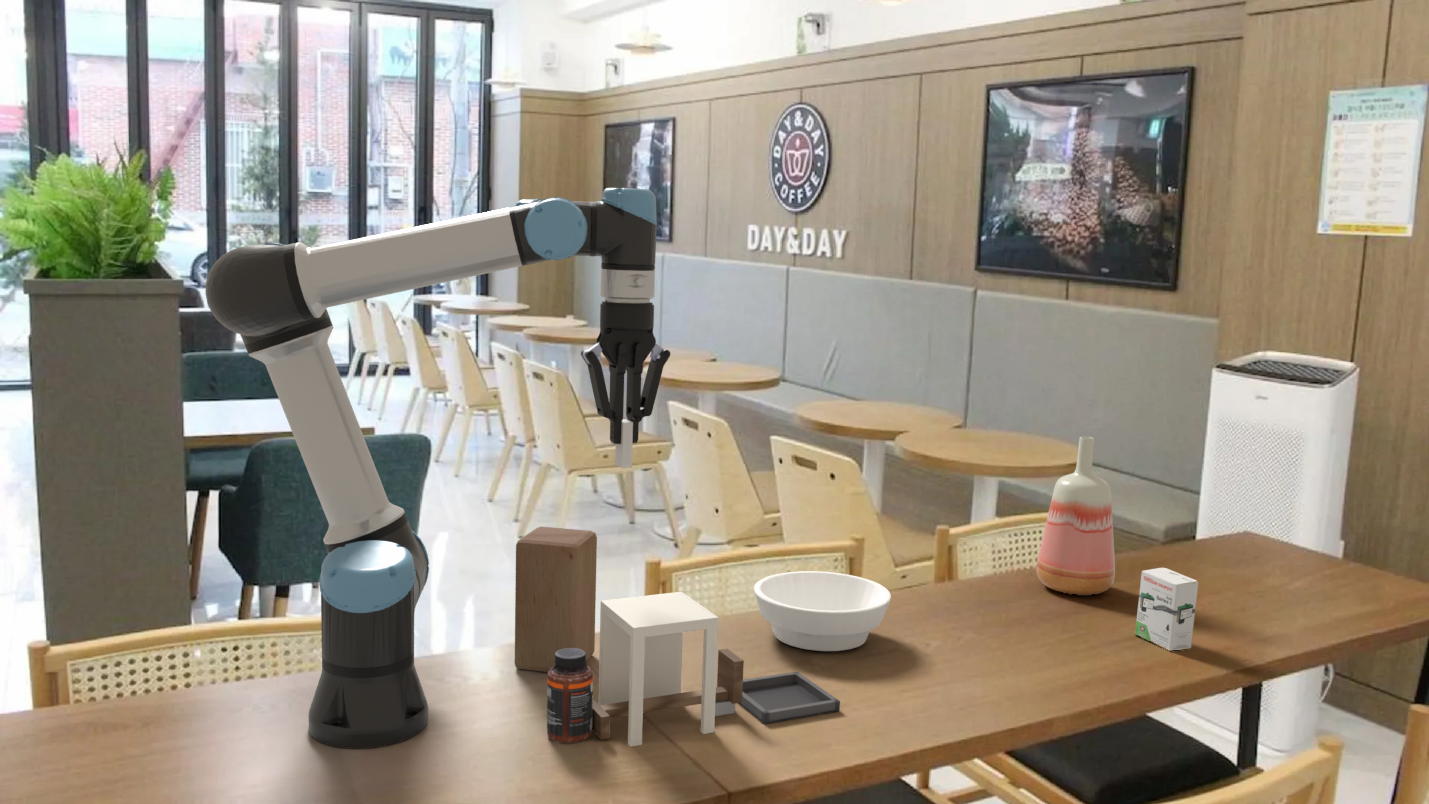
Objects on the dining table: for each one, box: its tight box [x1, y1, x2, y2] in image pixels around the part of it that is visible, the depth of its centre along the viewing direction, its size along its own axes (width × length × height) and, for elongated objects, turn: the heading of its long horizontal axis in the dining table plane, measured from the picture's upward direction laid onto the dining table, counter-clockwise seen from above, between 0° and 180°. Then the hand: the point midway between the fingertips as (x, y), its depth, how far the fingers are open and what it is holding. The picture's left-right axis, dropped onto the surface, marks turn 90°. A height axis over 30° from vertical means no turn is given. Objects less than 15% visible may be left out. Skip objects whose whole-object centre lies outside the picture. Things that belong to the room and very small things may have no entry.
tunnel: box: [597, 591, 736, 748], centre depth 162 cm, size 18×12×16 cm
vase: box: [1035, 436, 1116, 596], centre depth 228 cm, size 14×14×30 cm
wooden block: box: [514, 526, 598, 673], centre depth 181 cm, size 10×10×20 cm
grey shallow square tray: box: [738, 671, 841, 725], centre depth 170 cm, size 12×12×2 cm
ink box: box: [1134, 567, 1199, 651], centre depth 201 cm, size 9×5×12 cm, turn 23°
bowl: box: [753, 570, 892, 652], centre depth 197 cm, size 22×22×8 cm
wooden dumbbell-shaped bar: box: [592, 648, 745, 740], centre depth 162 cm, size 21×7×8 cm, turn 116°
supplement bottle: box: [546, 648, 594, 744], centre depth 156 cm, size 6×6×11 cm
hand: (623, 465), depth 171 cm, fingers closed
